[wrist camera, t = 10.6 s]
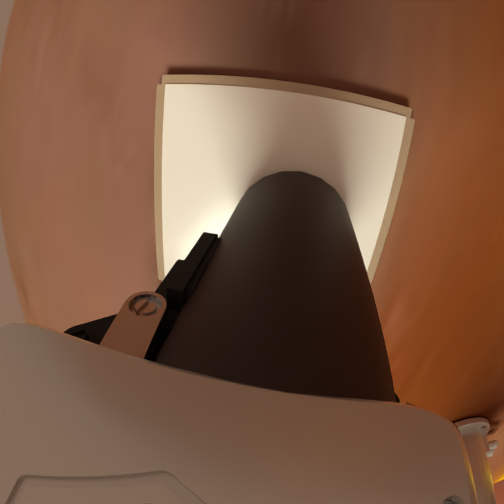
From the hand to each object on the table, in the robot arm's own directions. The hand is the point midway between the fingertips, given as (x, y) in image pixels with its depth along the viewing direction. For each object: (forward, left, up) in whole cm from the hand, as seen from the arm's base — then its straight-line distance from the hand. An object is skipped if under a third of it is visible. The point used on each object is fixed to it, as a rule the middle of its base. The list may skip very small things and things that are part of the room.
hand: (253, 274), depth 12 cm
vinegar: (-1, 0, -7) cm, 7 cm away
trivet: (0, 0, -8) cm, 8 cm away
